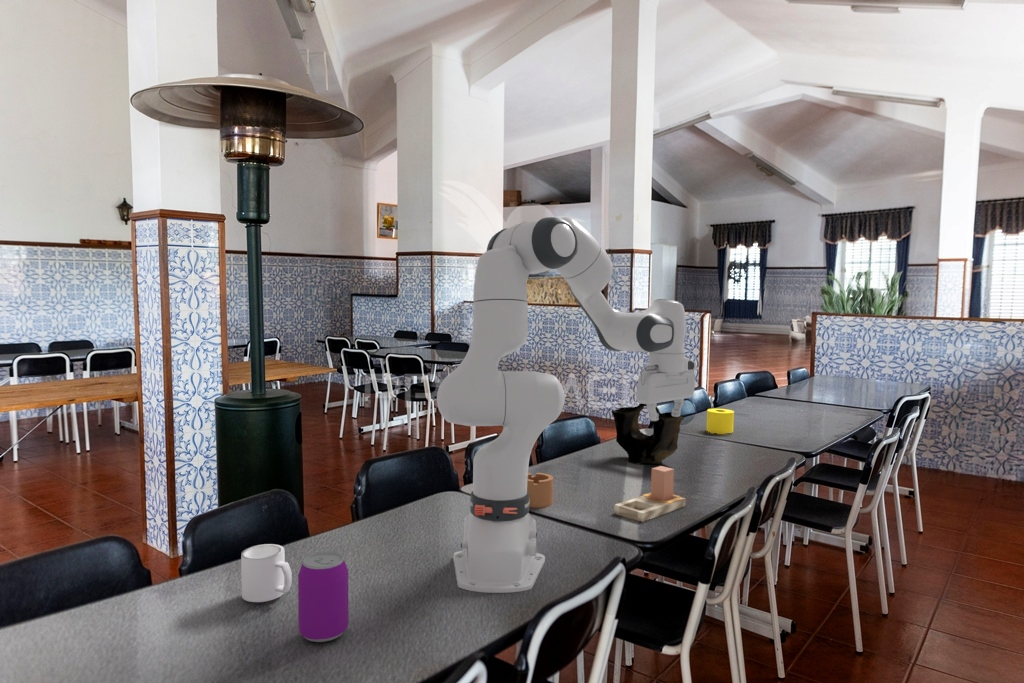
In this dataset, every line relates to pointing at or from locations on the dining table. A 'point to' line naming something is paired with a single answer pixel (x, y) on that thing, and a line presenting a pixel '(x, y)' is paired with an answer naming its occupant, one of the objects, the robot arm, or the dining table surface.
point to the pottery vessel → (643, 445)
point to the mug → (264, 573)
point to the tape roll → (720, 421)
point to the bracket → (540, 490)
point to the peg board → (647, 507)
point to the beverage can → (323, 596)
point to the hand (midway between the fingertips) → (665, 418)
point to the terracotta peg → (662, 483)
